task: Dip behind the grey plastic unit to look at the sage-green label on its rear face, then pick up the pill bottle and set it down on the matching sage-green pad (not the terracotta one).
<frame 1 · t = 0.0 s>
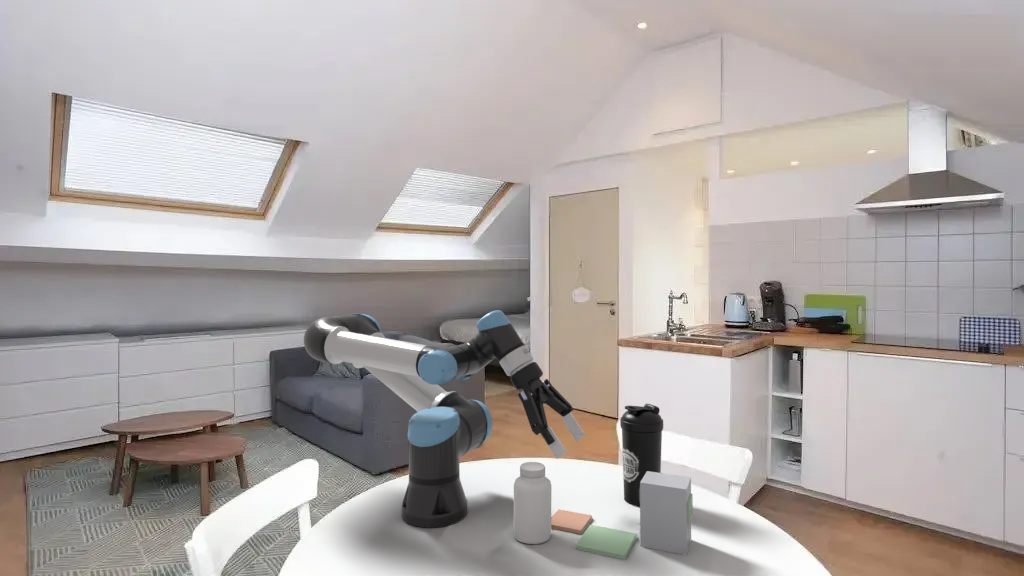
hand: (572, 446, 127), 15 cm above the table, tool tilted 35°, fingers open, 13 cm apart
green pad: (606, 542, 113), on the table
terracotta pad: (569, 522, 123), on the table
unit: (665, 542, 113), on the table
pill bottle: (532, 537, 116), on the table
water bottle: (641, 500, 135), on the table
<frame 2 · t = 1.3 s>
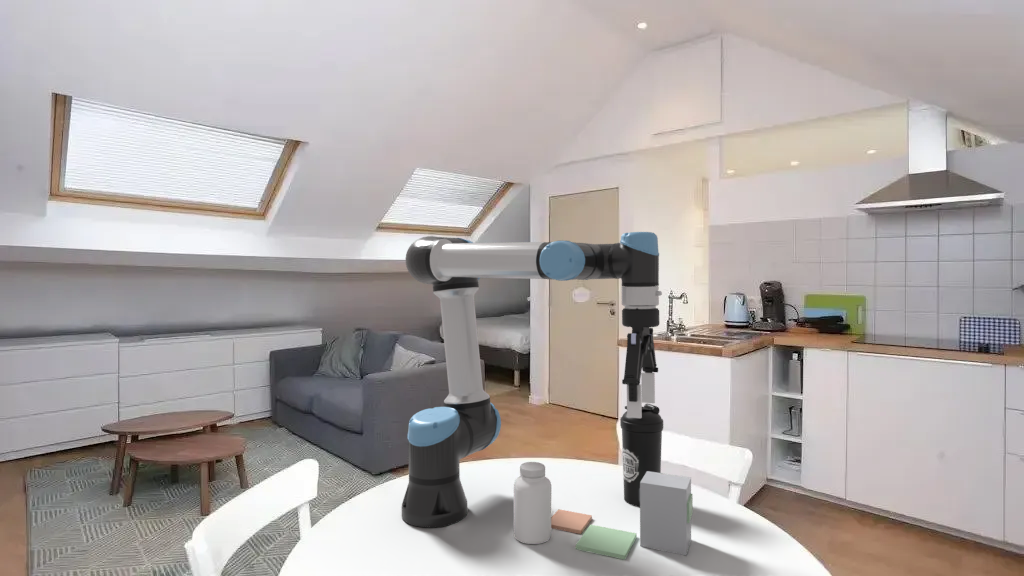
hand: (641, 409, 115), 27 cm above the table, tool pointing down, fingers open, 13 cm apart
nothing on the table moved.
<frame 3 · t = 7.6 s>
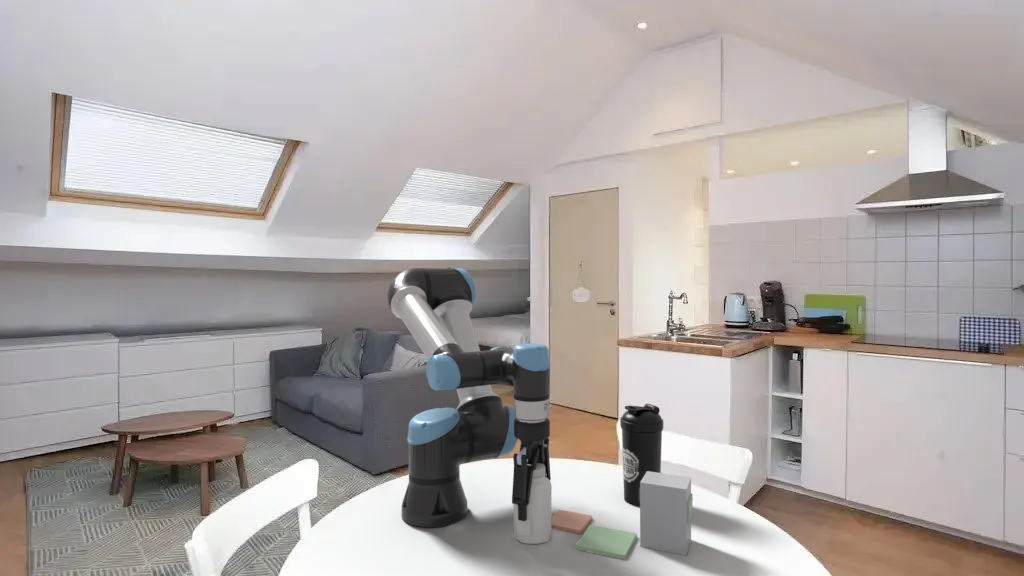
hand: (532, 525, 116), 2 cm above the table, tool pointing down, fingers closed on pill bottle, 8 cm apart
pill bottle: (532, 537, 116), on the table, touching gripper
everything else where it was.
when the fingers open (4 cm above the table, at t = 12.8 s): pill bottle drops 1 cm, resting on green pad.
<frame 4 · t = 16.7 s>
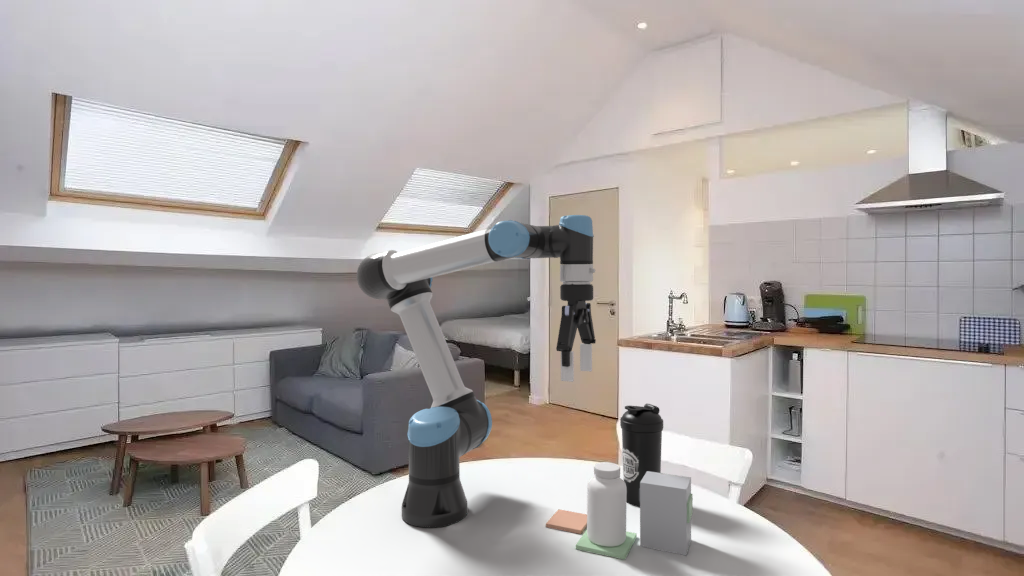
hand: (577, 375, 127), 32 cm above the table, tool pointing down, fingers open, 13 cm apart
pill bottle: (606, 539, 114), point 1 cm above the table, touching green pad
everything else where it was.
at the end: pill bottle inside the target area on the green pad (0.2 cm from its centre), point 0.6 cm above the green pad's base; pill bottle tilted 0°; the gripper is holding nothing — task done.
